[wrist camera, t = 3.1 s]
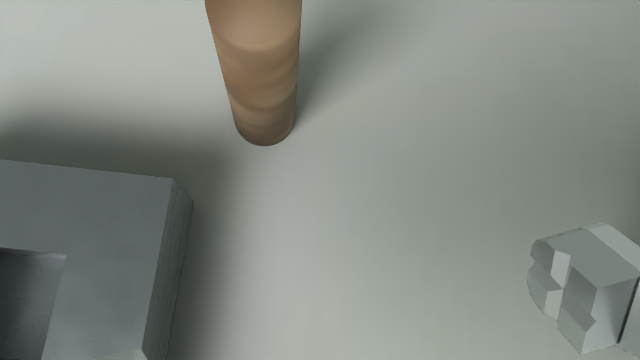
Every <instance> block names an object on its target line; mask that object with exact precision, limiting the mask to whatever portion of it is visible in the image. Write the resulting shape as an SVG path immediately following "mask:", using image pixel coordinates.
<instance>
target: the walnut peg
mask: <svg viewBox="0 0 640 360" xmlns="http://www.w3.org/2000/svg"><path fill="white" fill-rule="evenodd" d="M205 7H206V12H207V15H208V19H209V23H210V27H211V31H212V35H213V39H214V43H215V47H216V51H217V54H218V58H219V62H220V66H221V70H222V74H223V78H224V82H225V86H226V90H227V94H228V97H229V101H230V105H231V109H232V113H233V117H234V121H235V125H236V128H237V130H238V132H239V133H240V135H241V136H242V137H243V138H244V139H245V140H247V141H248V142H250V143H252V144H255V145H259V146H270V145H274V144H277V143H279V142H281V141H282V140H284V139H285V138H286V137H287V136H288V135H289V133H290V132H291V130H292V128H293V125H294V116H295V101H296V86H297V71H298V56H299V41H300V26H301V11H302V0H205Z"/></svg>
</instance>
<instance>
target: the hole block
mask: <svg viewBox="0 0 640 360" xmlns="http://www.w3.org/2000/svg"><path fill="white" fill-rule="evenodd" d="M192 206H193V201H192V200H191V199H190V197H189V196H188V195H187V194H186V193H185V192H184V190H183V189H182V188H181V187H180V186H179V185H178V183H177V182H176V181H175V180H174V179H173V178H166V177H157V176H148V175H139V174H130V173H121V172H112V171H104V170H95V169H86V168H77V167H68V166H59V165H50V164H41V163H32V162H23V161H14V160H5V159H0V360H93V359H97V358H101V357H105V356H109V355H113V354H117V353H121V352H125V351H129V350H134V349H142V351H143V353H144V355H145V356H146V358H147V360H166V356H167V350H168V344H169V339H170V333H171V327H172V321H173V315H174V310H175V304H176V298H177V292H178V287H179V281H180V275H181V269H182V263H183V258H184V252H185V246H186V240H187V235H188V229H189V223H190V217H191V211H192Z"/></svg>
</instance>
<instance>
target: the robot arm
mask: <svg viewBox="0 0 640 360" xmlns="http://www.w3.org/2000/svg"><path fill="white" fill-rule="evenodd" d="M531 256H532V258H533V259H534V260H535V261H536V262H535V263H534V264H533V266H532V267H531V268H530V269H529V271H528V278H527V285H528V288H529V292H530V295H531V297H532V299H533V301H534V302H535V304H536V305H537V307H538V308H539V309H540V310H541V311H542V312H543V314H546V315H548V316H550V317H552V318H555V319H557V322H558V330H559V332H560V333H561V334H562V335H563V336H564V337H565V338H566V339H567V340H568V342H569V343H570V344H571V345H572V346H573V347H574V348H575V349H576V350H577V351H578V353H579V354H580V355H582V354H586V353H589V352H593V351H597V350H600V349H604V348H607V347H611V346H614V345H618V344H619V347H621V348H623V349H624V350H626V351H628V352H630V353H632V354H634V355H636V356H638V357H639V358H640V246H638V245H637V244H635V243H634V242H633V241H631V240H630V239H629V238H627V237H626V236H624V235H623V234H622V233H620V232H619V231H618V230H616V229H615V228H613V227H612V226H611V225H609V224H606V223H603V222H599V223H596V224H592V225H589V226H585V227H581V228H579V229H574V230H571V231H567V232H564V233H560V234H557V235H553V236H549V237H546V238H542V239H539V240H536V241H535V243H534V244H533V245H532V249H531ZM93 360H147V358H146V356H145V355H144V353H143V351H142V349H134V350H129V351H125V352H121V353H117V354H113V355H109V356H105V357H101V358H97V359H93Z"/></svg>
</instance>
